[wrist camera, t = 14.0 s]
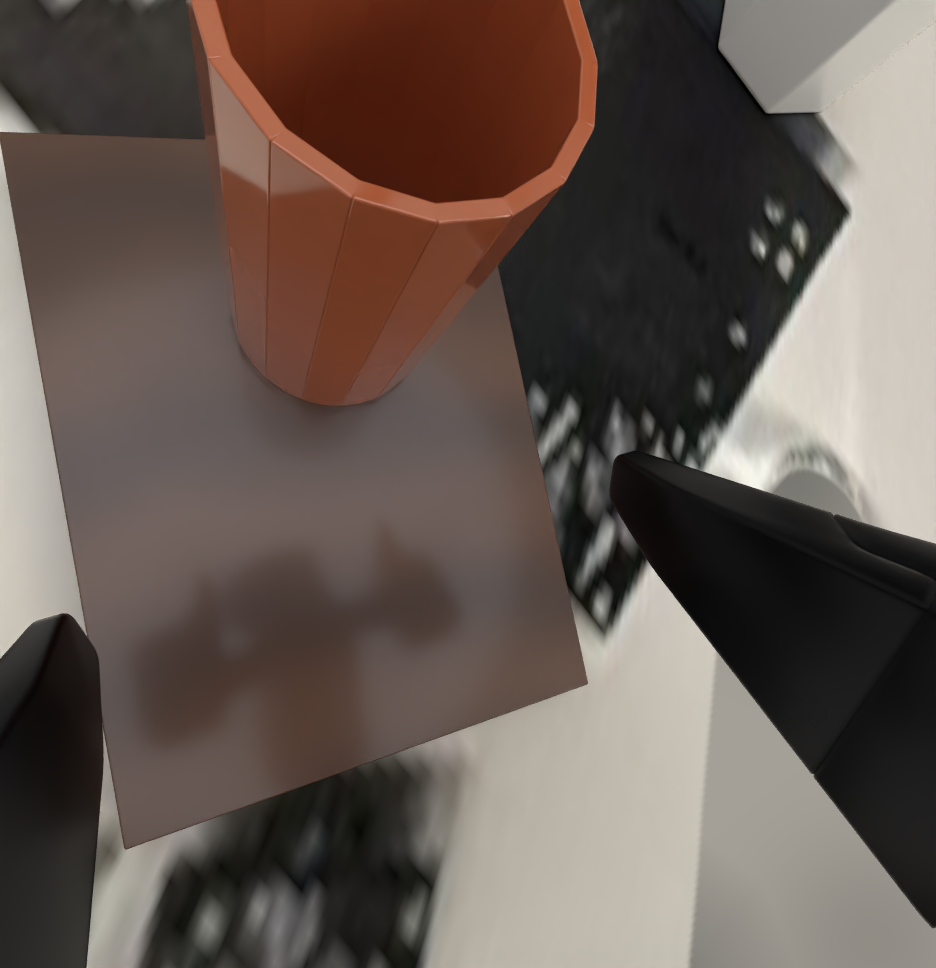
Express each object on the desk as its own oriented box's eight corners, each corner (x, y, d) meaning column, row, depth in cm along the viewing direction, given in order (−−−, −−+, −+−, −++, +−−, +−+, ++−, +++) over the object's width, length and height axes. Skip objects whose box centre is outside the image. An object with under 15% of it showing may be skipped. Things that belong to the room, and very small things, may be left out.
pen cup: (456, 342, 22) (660, 120, 11) (315, 443, 20) (387, 297, 8) (346, 195, 21) (443, -214, 10) (187, 283, 19) (74, -119, 8)
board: (565, 675, 24) (588, 684, 22) (137, 823, 18) (124, 850, 16) (458, 176, 25) (473, 149, 23) (21, 168, 19) (-3, 130, 17)
